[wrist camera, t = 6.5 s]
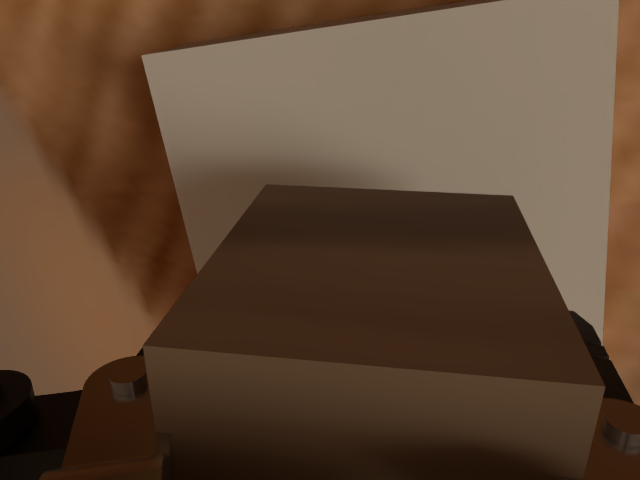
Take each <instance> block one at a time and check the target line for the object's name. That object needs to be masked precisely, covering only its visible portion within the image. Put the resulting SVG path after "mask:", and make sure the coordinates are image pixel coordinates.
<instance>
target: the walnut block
mask: <svg viewBox="0 0 640 480" xmlns="http://www.w3.org/2000/svg"><path fill="white" fill-rule="evenodd" d="M143 351H144V358H145V365H146V371H147V378H148V385H149V391H150V398H151V405H152V411H153V418H154V425H155V432H162V433H171V440H172V448H173V455H174V480H559V477H569V478H578V479H583V477H584V473H585V469H586V464H587V460H588V456H589V452H590V448H591V444H592V440H593V436H594V432H595V428H596V424H597V419H598V415H599V411H600V407H601V403H602V399H603V395H604V391H605V385H604V382H603V380H602V378H601V376H600V374H599V372H598V370H597V368H596V366H595V364H594V362H593V360H592V358H591V356H590V354H589V351H588V349H587V347H586V345H585V343H584V341H583V339H582V337H581V335H580V333H579V331H578V329H577V327H576V325H575V322H574V320H573V318H572V316H571V314H570V312H569V310H568V308H567V306H566V304H565V302H564V300H563V298H562V296H561V294H560V291H559V289H558V287H557V285H556V283H555V281H554V279H553V277H552V275H551V273H550V271H549V269H548V267H547V265H546V263H545V260H544V258H543V256H542V254H541V252H540V250H539V248H538V246H537V244H536V242H535V240H534V238H533V236H532V234H531V232H530V229H529V227H528V225H527V223H526V221H525V219H524V217H523V215H522V213H521V211H520V209H519V207H518V205H517V203H516V200H515V198H514V196H512V195H490V194H468V193H446V192H425V191H403V190H381V189H360V188H338V187H316V186H294V185H273V184H266V185H265V186H264V188H263V189H262V190H261V191H260V193H259V194H258V195H257V197H256V198H255V199H254V201H253V202H252V203H251V205H250V206H249V207H248V208H247V210H246V211H245V212H244V214H243V215H242V216H241V218H240V219H239V220H238V222H237V223H236V224H235V225H234V227H233V228H232V229H231V231H230V232H229V233H228V235H227V236H226V237H225V239H224V240H223V241H222V242H221V244H220V245H219V246H218V248H217V249H216V250H215V252H214V253H213V254H212V256H211V257H210V258H209V259H208V261H207V262H206V263H205V265H204V266H203V267H202V269H201V270H200V271H199V273H198V274H197V275H196V277H195V278H194V279H193V280H192V282H191V283H190V284H189V286H188V287H187V288H186V290H185V291H184V292H183V294H182V295H181V296H180V297H179V299H178V300H177V301H176V303H175V304H174V305H173V307H172V308H171V309H170V311H169V312H168V313H167V314H166V316H165V317H164V318H163V320H162V321H161V322H160V324H159V325H158V326H157V328H156V329H155V330H154V331H153V333H152V334H151V335H150V337H149V338H148V339H147V341H146V342H145V343H144V345H143Z"/></svg>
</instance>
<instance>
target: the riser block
mask: <svg viewBox="0 0 640 480" xmlns="http://www.w3.org/2000/svg"><path fill="white" fill-rule="evenodd" d="M618 9H619V0H468V1H462V2H455V3H448V4H442V5H435V6H429V7H422V8H416V9H409V10H403V11H396V12H390V13H383V14H377V15H370V16H364V17H357V18H351V19H344V20H338V21H331V22H325V23H318V24H312V25H305V26H299V27H292V28H286V29H279V30H272V31H266V32H259V33H253V34H246V35H240V36H233V37H227V38H220V39H214V40H207V41H201V42H194V43H189V44H185V45H181V46H177V47H173V48H169V49H165V50H161V51H157V52H153V53H149V54H145V55H141V56H142V60H143V64H144V68H145V72H146V76H147V80H148V84H149V88H150V92H151V95H152V99H153V103H154V107H155V111H156V115H157V119H158V123H159V127H160V131H161V135H162V138H163V142H164V146H165V150H166V154H167V158H168V162H169V166H170V170H171V174H172V178H173V181H174V185H175V189H176V193H177V197H178V201H179V205H180V209H181V213H182V217H183V221H184V224H185V228H186V232H187V236H188V240H189V244H190V248H191V252H192V256H193V260H194V264H195V268H196V271H197V274H198V273H199V271H200V270H201V269H202V267H203V266H204V265H205V263H206V262H207V261H208V259H209V258H210V257H211V256H212V254H213V253H214V252H215V250H216V249H217V248H218V246H219V245H220V244H221V242H222V241H223V240H224V239H225V237H226V236H227V235H228V233H229V232H230V231H231V229H232V228H233V227H234V225H235V224H236V223H237V222H238V220H239V219H240V218H241V216H242V215H243V214H244V212H245V211H246V210H247V208H248V207H249V206H250V205H251V203H252V202H253V201H254V199H255V198H256V197H257V195H258V194H259V193H260V191H261V190H262V189H263V188H264V186H265V185H266V184H273V185H294V186H316V187H338V188H360V189H381V190H403V191H425V192H446V193H468V194H490V195H512V196H514V198H515V200H516V203H517V205H518V207H519V209H520V211H521V213H522V215H523V217H524V219H525V221H526V223H527V225H528V227H529V229H530V232H531V234H532V236H533V238H534V240H535V242H536V244H537V246H538V248H539V250H540V252H541V254H542V256H543V258H544V260H545V263H546V265H547V267H548V269H549V271H550V273H551V275H552V277H553V279H554V281H555V283H556V285H557V287H558V289H559V291H560V294H561V296H562V298H563V300H564V302H565V304H566V306H567V308H568V310H569V311H574V312H576V313H577V314H578V315H579V316H581V317H582V318H583V319H584V320H586V321H587V322H588V323H589V324H591V325H592V326H593V328H594V329H595V331H596V333H597V335H598V337H599V339H600V341H601V346H602V340H603V319H604V299H605V278H606V257H607V237H608V216H609V195H610V174H611V154H612V133H613V112H614V92H615V71H616V50H617V29H618Z"/></svg>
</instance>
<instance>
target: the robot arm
mask: <svg viewBox="0 0 640 480" xmlns="http://www.w3.org/2000/svg"><path fill="white" fill-rule="evenodd" d="M569 312H570V314H571V316H572V318H573V320H574V322H575V325H576V327H577V329H578V331H579V333H580V335H581V337H582V339H583V341H584V343H585V345H586V347H587V349H588V351H589V354H590V356H591V358H592V360H593V362H594V364H595V366H596V368H597V370H598V372H599V374H600V376H601V378H602V380H603V382H604V385H605V391H604V395H603V399H602V403H601V407H600V411H599V415H598V419H597V424H596V428H595V432H594V436H593V440H592V444H591V448H590V452H589V456H588V460H587V464H586V469H585V473H584V477H583V479H578V478H569V477H559V480H640V406H638V405H636V404H634V403H633V401H632V399H631V397H630V395H629V393H628V391H627V390H626V388H625V386H624V384H623V382H622V380H621V378H620V376H619V375H618V373H617V371H616V369H615V367H614V365H613V363H612V361H611V360H609V356H608V354H607V352H606V350H605V348H604V346H601V341H600V339H599V337H598V335H597V333H596V331H595V329H594V328H593V326H592V325H591V324H589V323H588V322H587V321H586V320H584V319H583V318H582V317H581V316H579V315H578V314H577V313H576V312H574V311H569ZM0 480H174V455H173V448H172V440H171V433H162V432H155V425H154V418H153V411H152V405H151V398H150V391H149V385H148V378H147V371H146V365H145V358H144V351H143V348H142V349H141V350H140V351H139V353H138V354H137V355H136V356H131V357H125V358H122V359H118V360H115V361H112V362H110V363H107V364H105V365H103V366H102V367H100V368H99V369H97V370H96V371H95V372H93V373H92V374H91V375H90V376H89V377H88V379H87V380H86V382H85V384H84V386H83V390H79V391H74V392H65V393H56V394H48V395H40V396H35V395H34V391H33V387H32V383H31V380H30V379H29V377H28V376H27V375H25V374H23V373H21V372H18V371H13V370H0Z"/></svg>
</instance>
